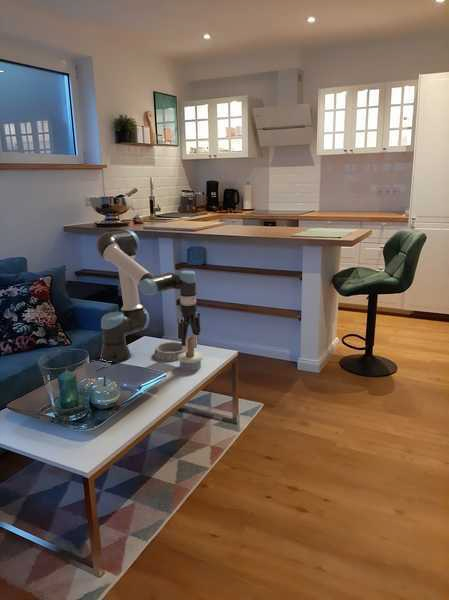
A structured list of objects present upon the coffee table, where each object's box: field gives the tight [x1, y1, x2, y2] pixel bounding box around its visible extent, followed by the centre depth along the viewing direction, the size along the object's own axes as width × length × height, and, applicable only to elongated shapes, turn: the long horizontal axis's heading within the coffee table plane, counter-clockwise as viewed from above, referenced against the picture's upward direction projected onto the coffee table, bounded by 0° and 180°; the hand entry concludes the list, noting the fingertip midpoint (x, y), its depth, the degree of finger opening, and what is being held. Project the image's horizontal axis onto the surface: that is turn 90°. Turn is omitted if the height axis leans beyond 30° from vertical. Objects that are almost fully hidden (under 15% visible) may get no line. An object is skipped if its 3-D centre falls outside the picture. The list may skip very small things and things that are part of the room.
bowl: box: [179, 360, 202, 372], centre depth 234 cm, size 10×10×6 cm
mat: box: [145, 360, 179, 374], centre depth 234 cm, size 13×13×1 cm
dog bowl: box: [153, 341, 184, 362], centre depth 251 cm, size 17×18×5 cm
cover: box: [177, 336, 204, 363], centre depth 232 cm, size 12×12×10 cm
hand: (189, 349), depth 232 cm, fingers open, 6 cm apart
